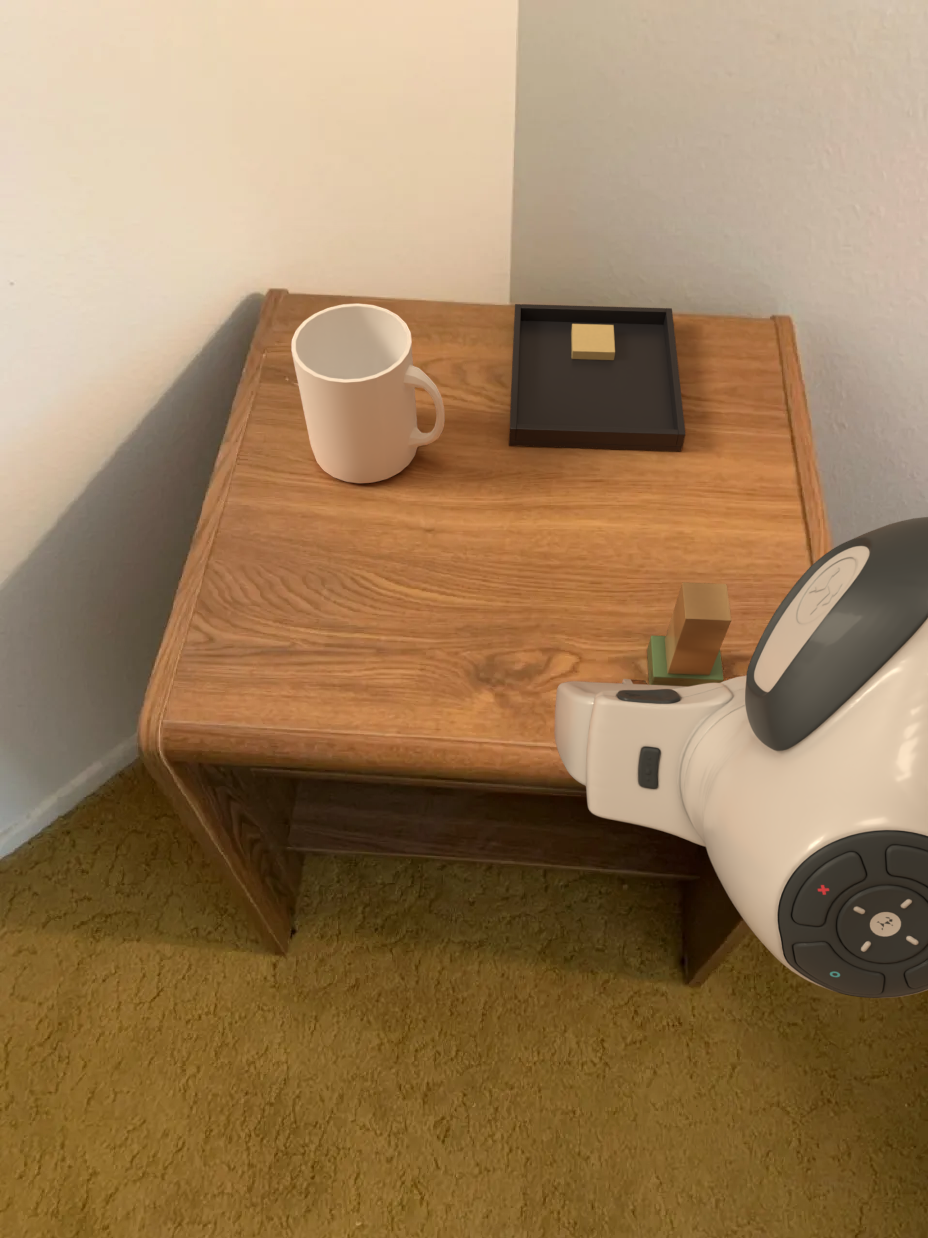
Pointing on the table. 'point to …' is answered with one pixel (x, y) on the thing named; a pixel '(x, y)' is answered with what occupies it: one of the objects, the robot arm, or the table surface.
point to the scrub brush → (692, 638)
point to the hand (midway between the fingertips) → (704, 694)
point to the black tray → (595, 381)
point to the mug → (361, 392)
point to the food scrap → (592, 342)
